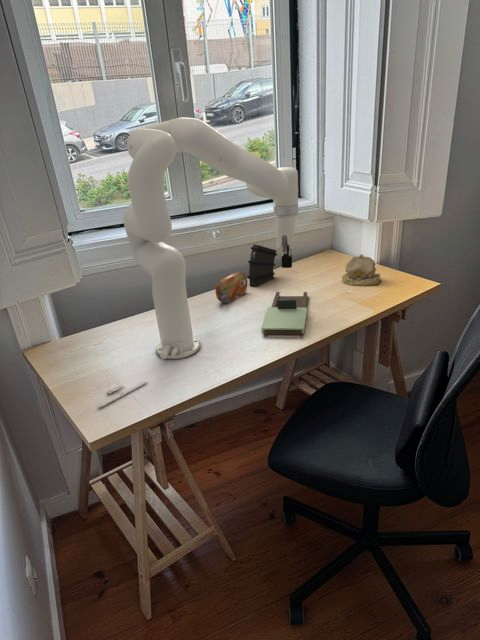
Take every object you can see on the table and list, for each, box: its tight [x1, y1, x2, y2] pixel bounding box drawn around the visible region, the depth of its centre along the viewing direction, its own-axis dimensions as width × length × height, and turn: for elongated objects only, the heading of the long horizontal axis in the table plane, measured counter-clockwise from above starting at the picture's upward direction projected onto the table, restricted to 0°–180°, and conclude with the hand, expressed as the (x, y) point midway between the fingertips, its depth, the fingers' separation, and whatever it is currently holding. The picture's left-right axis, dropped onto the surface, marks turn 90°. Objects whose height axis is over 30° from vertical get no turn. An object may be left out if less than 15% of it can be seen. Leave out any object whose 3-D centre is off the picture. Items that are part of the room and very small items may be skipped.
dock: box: [264, 291, 308, 337], centre depth 164 cm, size 30×11×2 cm, turn 172°
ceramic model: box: [343, 254, 381, 286], centre depth 185 cm, size 14×11×10 cm
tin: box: [215, 272, 248, 304], centre depth 178 cm, size 15×3×8 cm, turn 143°
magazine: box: [247, 243, 278, 287], centre depth 190 cm, size 4×13×15 cm, turn 137°
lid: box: [260, 299, 308, 335], centre depth 156 cm, size 15×13×5 cm
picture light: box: [98, 382, 145, 408], centre depth 129 cm, size 14×4×2 cm, turn 138°
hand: (286, 266), depth 162 cm, fingers closed
